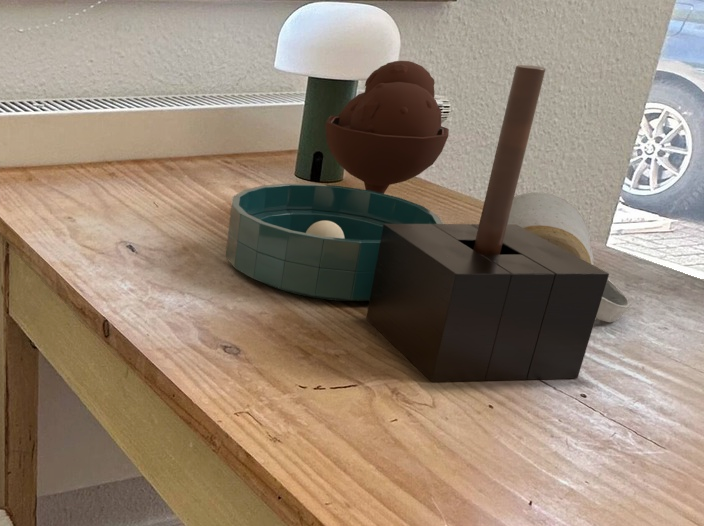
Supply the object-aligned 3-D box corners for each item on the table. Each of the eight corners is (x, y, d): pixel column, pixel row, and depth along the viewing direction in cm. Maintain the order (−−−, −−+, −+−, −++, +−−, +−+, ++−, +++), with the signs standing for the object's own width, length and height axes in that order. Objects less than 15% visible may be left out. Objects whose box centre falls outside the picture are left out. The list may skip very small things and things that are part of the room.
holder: (493, 316, 64) (516, 224, 61) (578, 378, 55) (610, 273, 52) (365, 318, 62) (383, 223, 59) (431, 382, 53) (456, 274, 51)
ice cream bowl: (301, 206, 88) (323, 51, 82) (412, 213, 88) (443, 58, 82) (320, 239, 79) (348, 66, 73) (445, 246, 79) (483, 73, 72)
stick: (468, 341, 59) (535, 65, 52) (481, 351, 58) (551, 69, 51) (446, 341, 59) (510, 64, 52) (458, 352, 58) (526, 68, 50)
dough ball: (335, 226, 73) (358, 246, 71) (306, 253, 74) (328, 274, 72) (319, 206, 71) (342, 226, 69) (290, 234, 72) (312, 254, 69)
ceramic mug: (470, 312, 64) (497, 210, 61) (469, 277, 71) (493, 184, 68) (632, 341, 61) (668, 235, 58) (613, 301, 68) (645, 205, 65)
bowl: (377, 238, 80) (387, 184, 78) (468, 306, 65) (484, 242, 63) (204, 238, 78) (209, 182, 75) (259, 308, 63) (268, 242, 61)
